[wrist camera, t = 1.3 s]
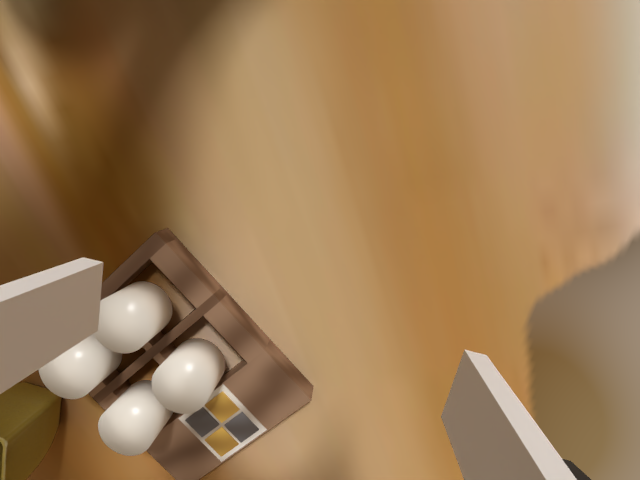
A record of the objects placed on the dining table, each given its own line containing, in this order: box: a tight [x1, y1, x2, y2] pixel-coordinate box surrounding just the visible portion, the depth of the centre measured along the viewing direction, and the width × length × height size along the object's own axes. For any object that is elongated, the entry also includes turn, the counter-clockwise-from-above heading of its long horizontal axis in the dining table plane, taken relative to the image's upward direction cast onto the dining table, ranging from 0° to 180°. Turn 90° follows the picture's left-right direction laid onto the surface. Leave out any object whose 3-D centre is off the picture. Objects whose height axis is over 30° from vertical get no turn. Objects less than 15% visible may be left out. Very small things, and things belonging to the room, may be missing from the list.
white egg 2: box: [94, 281, 172, 353], centre depth 33 cm, size 6×6×4 cm
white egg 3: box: [152, 338, 225, 414], centre depth 34 cm, size 6×6×4 cm
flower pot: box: [0, 382, 61, 480], centre depth 39 cm, size 9×9×9 cm
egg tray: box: [88, 228, 313, 480], centre depth 39 cm, size 24×20×3 cm
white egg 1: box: [39, 334, 122, 399], centre depth 35 cm, size 6×6×4 cm
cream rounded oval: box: [98, 380, 173, 456], centre depth 36 cm, size 6×6×4 cm
